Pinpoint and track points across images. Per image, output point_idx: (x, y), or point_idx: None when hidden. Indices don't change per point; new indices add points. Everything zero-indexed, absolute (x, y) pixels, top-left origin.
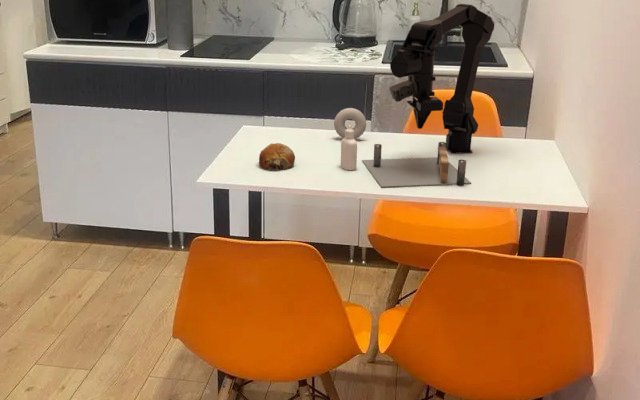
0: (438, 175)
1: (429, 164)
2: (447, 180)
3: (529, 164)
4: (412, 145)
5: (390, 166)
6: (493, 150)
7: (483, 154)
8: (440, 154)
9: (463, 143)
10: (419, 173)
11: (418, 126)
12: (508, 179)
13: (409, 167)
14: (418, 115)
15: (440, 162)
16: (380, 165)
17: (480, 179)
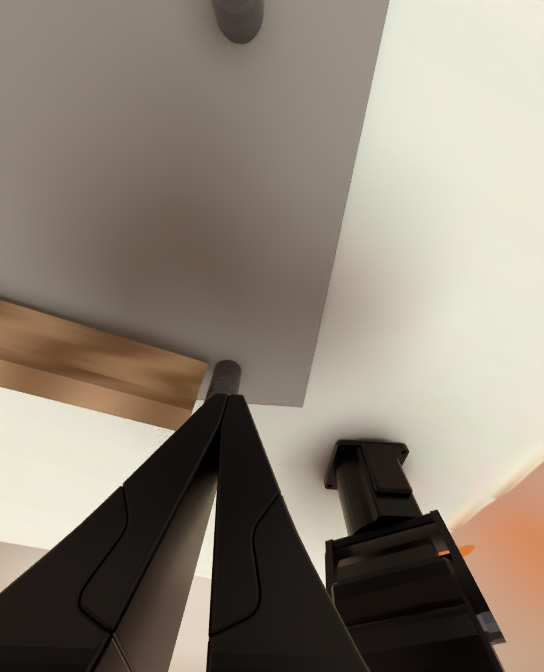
0: (83, 313)
1: (227, 332)
2: None
3: (206, 539)
4: (493, 364)
5: (224, 121)
6: (329, 522)
7: (305, 498)
8: (47, 372)
9: (340, 495)
10: (102, 243)
11: (202, 407)
12: (85, 476)
13: (195, 230)
14: (68, 547)
15: (99, 354)
16: (224, 32)
17: (75, 421)
